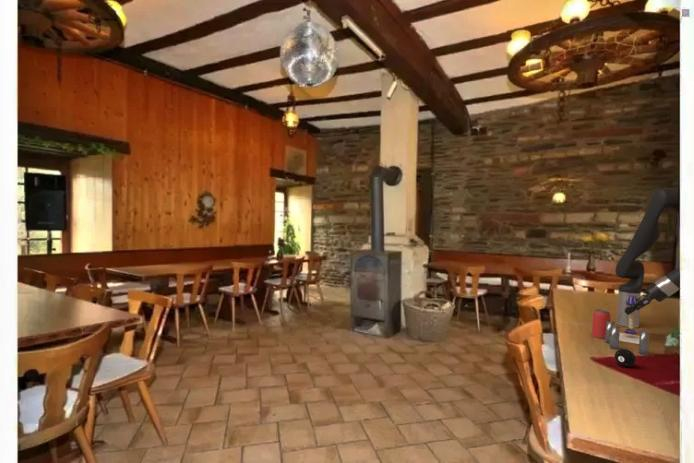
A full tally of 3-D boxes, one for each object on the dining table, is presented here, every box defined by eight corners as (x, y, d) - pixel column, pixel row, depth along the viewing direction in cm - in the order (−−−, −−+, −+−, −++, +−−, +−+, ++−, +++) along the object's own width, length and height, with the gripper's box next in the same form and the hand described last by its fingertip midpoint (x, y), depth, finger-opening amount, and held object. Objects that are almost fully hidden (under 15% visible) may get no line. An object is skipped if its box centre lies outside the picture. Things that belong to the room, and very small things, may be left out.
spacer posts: (606, 341, 169) (607, 320, 169) (652, 351, 156) (654, 329, 156) (597, 345, 162) (598, 323, 162) (644, 356, 150) (646, 333, 149)
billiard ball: (638, 367, 138) (639, 350, 138) (630, 370, 135) (631, 353, 134) (619, 362, 143) (620, 345, 143) (611, 364, 140) (612, 348, 140)
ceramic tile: (646, 339, 175) (646, 336, 175) (646, 345, 165) (647, 343, 165) (613, 333, 182) (613, 331, 182) (612, 339, 172) (612, 337, 172)
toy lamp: (621, 331, 175) (623, 294, 175) (631, 331, 176) (633, 294, 175) (629, 334, 170) (631, 296, 170) (639, 334, 171) (641, 297, 170)
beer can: (612, 340, 171) (613, 312, 171) (595, 338, 173) (597, 311, 172) (605, 335, 178) (606, 309, 177) (589, 334, 179) (590, 308, 179)
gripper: (653, 280, 174) (619, 303, 181) (655, 283, 162) (618, 307, 170) (668, 293, 171) (633, 316, 178) (671, 298, 159) (633, 322, 167)
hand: (626, 312), depth 174 cm, fingers closed on toy lamp, 4 cm apart
